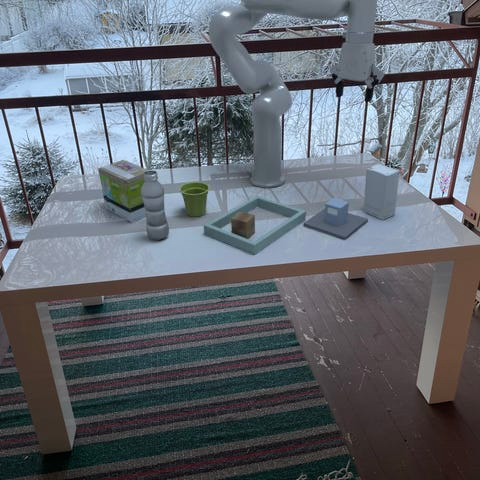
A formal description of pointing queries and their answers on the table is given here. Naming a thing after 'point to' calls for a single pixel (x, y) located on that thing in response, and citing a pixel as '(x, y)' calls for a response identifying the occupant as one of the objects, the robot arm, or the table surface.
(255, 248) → the tray
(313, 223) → the mat
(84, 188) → the table surface
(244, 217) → the walnut block
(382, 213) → the skincare box
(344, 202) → the slate box
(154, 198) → the plastic bottle
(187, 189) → the plant pot
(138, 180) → the tea box
